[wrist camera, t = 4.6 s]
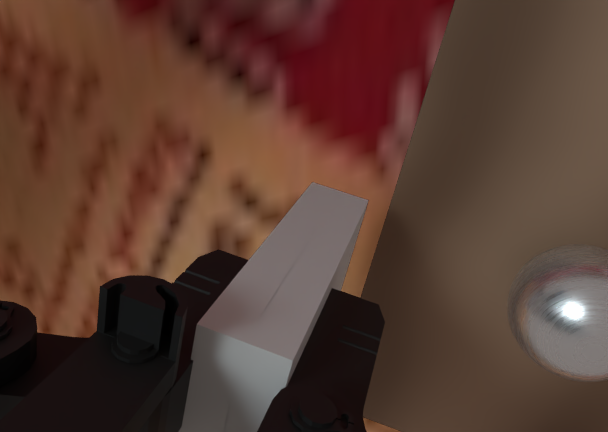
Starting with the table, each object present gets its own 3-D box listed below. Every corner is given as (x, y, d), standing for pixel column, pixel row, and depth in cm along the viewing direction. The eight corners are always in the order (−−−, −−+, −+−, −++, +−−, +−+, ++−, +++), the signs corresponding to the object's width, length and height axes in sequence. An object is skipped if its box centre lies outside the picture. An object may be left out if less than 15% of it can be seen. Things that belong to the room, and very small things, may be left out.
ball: (485, 307, 15) (490, 382, 12) (530, 207, 14) (547, 265, 11) (602, 345, 15) (635, 432, 12) (660, 246, 13) (714, 317, 10)
